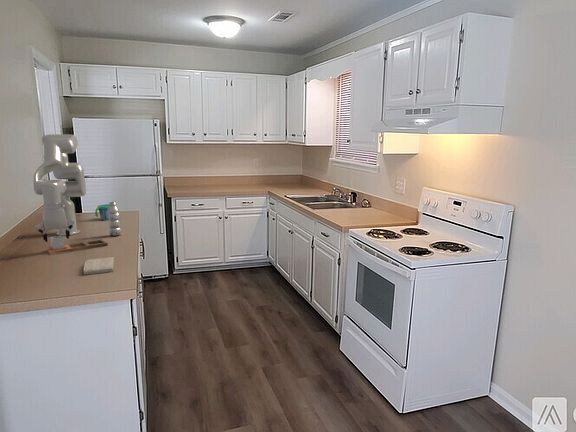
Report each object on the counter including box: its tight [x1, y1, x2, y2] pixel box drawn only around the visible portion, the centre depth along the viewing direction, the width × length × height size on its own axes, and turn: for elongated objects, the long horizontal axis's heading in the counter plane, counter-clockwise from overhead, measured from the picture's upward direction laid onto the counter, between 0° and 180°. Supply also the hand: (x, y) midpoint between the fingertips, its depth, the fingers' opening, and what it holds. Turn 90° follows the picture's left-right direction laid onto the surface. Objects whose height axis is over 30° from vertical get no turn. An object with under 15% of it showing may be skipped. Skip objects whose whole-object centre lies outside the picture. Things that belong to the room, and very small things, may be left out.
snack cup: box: [94, 203, 110, 221], centre depth 287 cm, size 16×10×10 cm
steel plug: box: [49, 235, 65, 251], centre depth 205 cm, size 5×5×7 cm
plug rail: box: [45, 238, 109, 256], centre depth 212 cm, size 11×27×2 cm, turn 130°
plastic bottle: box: [107, 201, 122, 237], centre depth 237 cm, size 6×7×20 cm
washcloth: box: [83, 256, 115, 276], centre depth 179 cm, size 12×18×3 cm, turn 23°
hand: (57, 239), depth 205 cm, fingers open, 9 cm apart
